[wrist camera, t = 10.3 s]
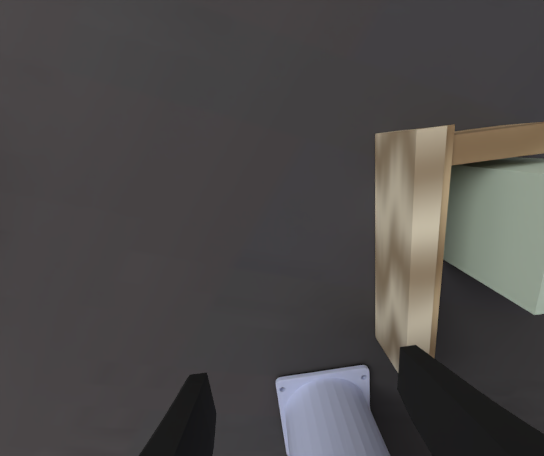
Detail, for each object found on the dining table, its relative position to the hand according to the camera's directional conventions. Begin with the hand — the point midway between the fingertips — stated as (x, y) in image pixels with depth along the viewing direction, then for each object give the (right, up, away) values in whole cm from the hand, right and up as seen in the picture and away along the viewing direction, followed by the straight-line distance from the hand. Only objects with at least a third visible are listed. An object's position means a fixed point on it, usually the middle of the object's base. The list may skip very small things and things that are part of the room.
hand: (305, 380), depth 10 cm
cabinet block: (+13, +7, +9) cm, 17 cm away
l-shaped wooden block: (+10, +5, +10) cm, 15 cm away
